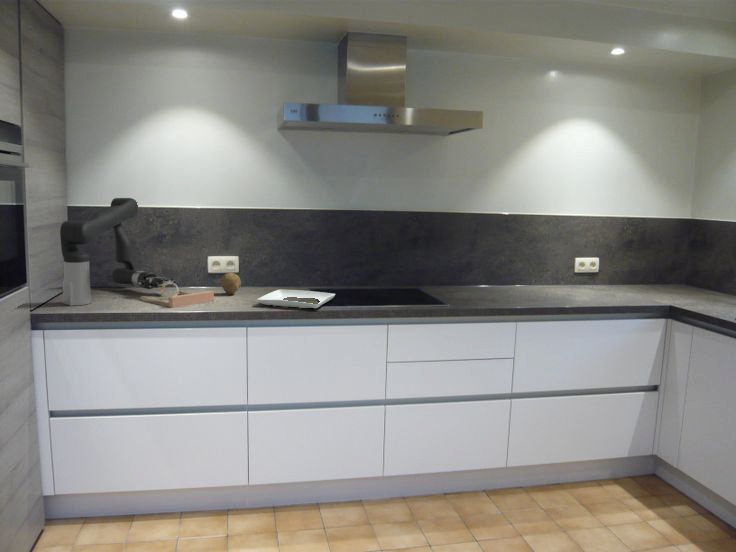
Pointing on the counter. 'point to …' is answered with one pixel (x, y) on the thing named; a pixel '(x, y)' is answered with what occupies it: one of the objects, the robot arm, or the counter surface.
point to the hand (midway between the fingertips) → (166, 284)
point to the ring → (166, 285)
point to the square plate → (279, 295)
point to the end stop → (191, 299)
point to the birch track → (161, 300)
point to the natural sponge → (230, 283)
